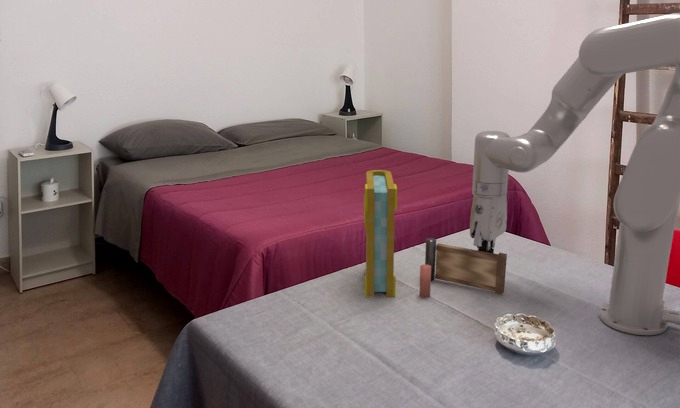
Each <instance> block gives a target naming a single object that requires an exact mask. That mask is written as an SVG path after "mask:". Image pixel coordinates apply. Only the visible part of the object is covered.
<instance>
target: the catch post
mask: <svg viewBox="0 0 680 408" xmlns="http://www.w3.org/2000/svg"><path fill="white" fill-rule="evenodd" d="M431 284H432V281H431V266H430V265H426V264H425V263H424V264H421V265H420V266H419V291H418V292H419V295H418V296H419V297H421V298H423V299H428V298H430V297H431V288H432V287H431Z"/></svg>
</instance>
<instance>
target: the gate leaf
mask: <svg viewBox="0 0 680 408" xmlns="http://www.w3.org/2000/svg"><path fill="white" fill-rule="evenodd" d="M507 257H508V254H507V253H502V252H499V253H489V252H483V251H478V249H472V248H465V247H461V246H456V245H450V244H444V243H439V242H438V243H436V261H435V280H439V281H444V282H449V283H453V284H459V285H463V286H466V287H467V286H468V287H472V288H477V289H480V290H481V289H482V290H486V291H492V292H494V294H496V295H500V296H502V295H503V294H505V284H506V272H507V271H506V270H507Z"/></svg>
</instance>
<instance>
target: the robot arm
mask: <svg viewBox="0 0 680 408" xmlns="http://www.w3.org/2000/svg"><path fill="white" fill-rule="evenodd" d="M673 66H674V67H675V68H674V73H673V75H672V78H671V82H670V83H669V85H668V87H667V91H666V93H665V96H664V99H663V101H662V104H661V105H660V108H659V110H658V113H657V115H656V117H655V119H654V121H653V122H652V123H651V124H650V125H649V126H647V128H646V129H644V131H643V132H641V135H639V138H638V139H637V140H636V144H635V145H634V148H633V149H632V152H631V155H630V157H629V160H628V161H627V164H626V167H625V170H624V172H623V174H622V177H621V178H620V179H621V180H620V182H619V184H618V187H617V189H616V192H615V194H614V198H613V211H614V215H615V217H616V218H617V220H618V221H619V225H618V234H617V240H616V246H615V247H616V248H615V253H614V261H613V262H614V263H613V271H612V279H611V286H610V292H609V293H610V294H609V302H608V303H605V304H604V305H603V306H601V307H600V310H599V318H600V320H601V321H602V322H603V323H604V324H605V325H607V326H608V327H610V328H613V329H615V330H617V331H620V332H622V333H626V334H630V335H636V336H637V335H638V336H639V335H640V336H655V335H659V334H662V333H664V332H666V330H667V329H668V325H669V323H670V324H674V325H677V326H680V311H679V310H672V309H668V308H667V307H665V300H664V294H665V287H666V281H667V273H668V267H669V262H670V254H671V250H672V243H673V238H674V233H675V232H674V231H675V227H676V226H675V225H676V222H677V217H678V212H679V208H680V12H672V13H668V14H663V15H659V16H654V17H651V18H645V19H642V20H636V21H632V22H627V23H623V24H617V25H610V26H604V27H600V28H596V29H595V30H593V31H591V32H590V33H588V35H587V36H585V38H584V39H583V41H582V42H581V44H580V46H579V50H578V57H577V58H576V59H575V60H574V62H573V63H572V64H571V66H570V67H569V68H568V69H567V70H566V72H564V74H563V75H562V76H561V78H559V80H558V81H557V83H556V84H555V85H554V87H553V88H552V91H551V99H550V102H549V104H548V106H547V108H546V109H545V110H544V112H543V113H542V115H541V116H540V117H539V118H538V120H537V121H536V122H534V125H533V126H532V127H531V128H530V129H529V130H528V131H527V132H525V133H523V134H520V135H518V136H514V137H513V136H512V137H511V136H510V135H509V133H506V132H504V131H501V130H500V131H497V130H485V131H484V130H483V131H480V132H478V133H477V134H476V135H475V138H474V139H475V140H474V155H473V169H472V170H473V171H472V189H471V190H472V191H471V194H472V195H473V198H472V205H471V209H470V210H471V212H470V218H469V219H470V221H469V236H470V237H471V238H472V239H473V246H475V247H476V249H477V250H478V251H483V252H489V253H494V251H495V249H494V248H495V247H496V238H499V236H501V235H503V234H504V233H505V232H506V230H507V226H508V225H507V223H508V222H507V221H508V200H507V195H508V184H509V171H512V172H515V173H522V174H523V173H528V172H530V171H533V170H535V169H536V168H538V167H539V166H541V165H542V164H544V163H547V161H549V160H550V159H551V158H552V157H553V156H554V154H556V152H558V151H559V149H560V148H561V147H562V146H563V145H564V143H566V141H567V140H568V139H569V138H570V136H572V134H573V133H574V132H575V130H577V128H578V127H579V126H580V125H581V124H582V122H583V121H585V119H586V118H587V116H588V115H589V114H590V113H591V111H592V110H593V109H594V108H595V107H596V105H597V104H598V103H599V102H600V101H601V100H602V99H603V97H604V96H605V95H606V94H607V93H608V92H609V91H610V90H611V88H612V87H613V86H614V85H616V83H617V82H618V81H619V80H620V78H621V77H622V76H623V75H625V74H631V73H636V72H642V71H649V70H655V69H659V68H666V67H673ZM494 254H495V253H494Z"/></svg>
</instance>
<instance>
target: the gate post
mask: <svg viewBox="0 0 680 408" xmlns="http://www.w3.org/2000/svg"><path fill="white" fill-rule="evenodd" d="M436 245H437V239H436V238H434V237H428V238H425V257H424V259H425V260H424V264H426V265H430V266H431V282H434V281H435V280H436V279H435V273H436Z"/></svg>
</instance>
